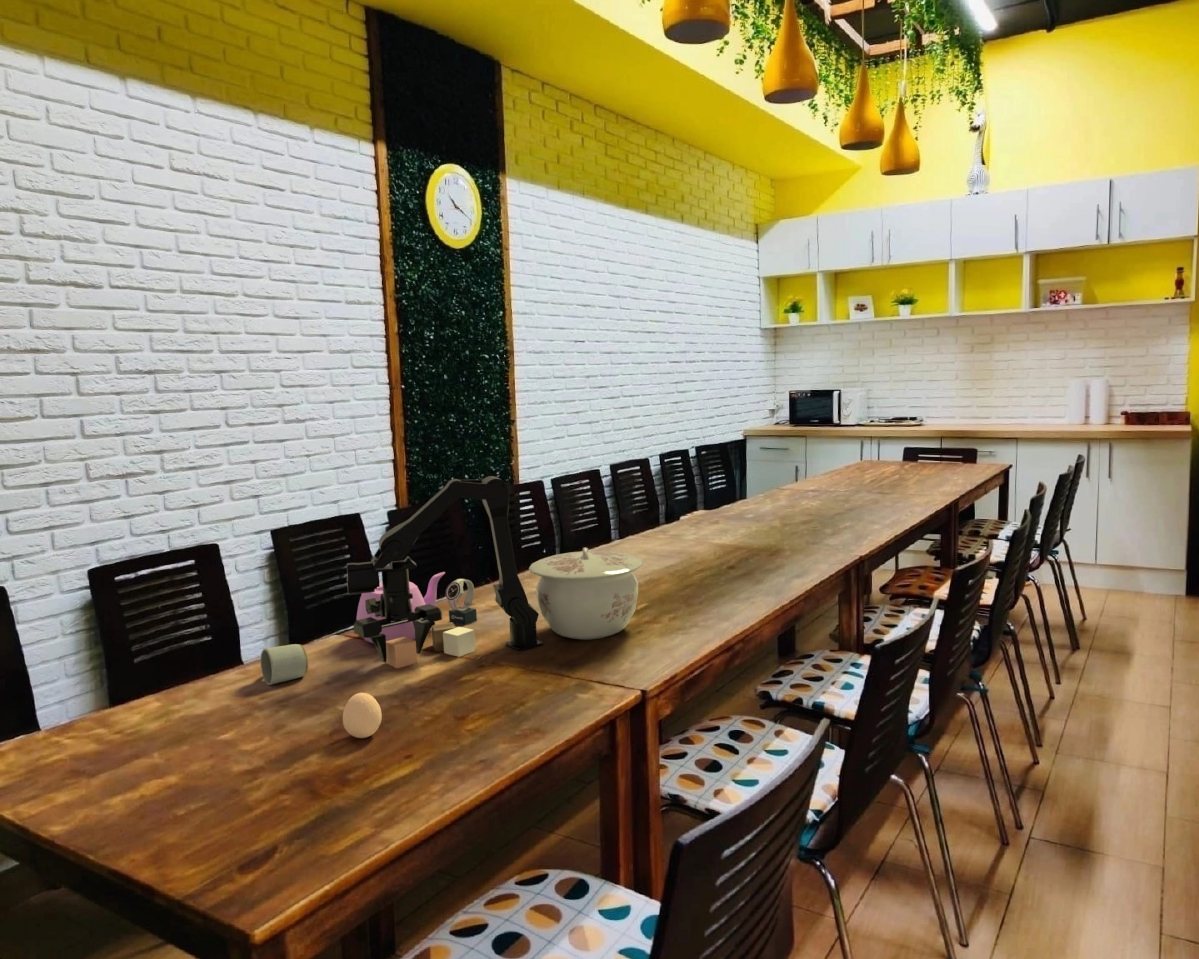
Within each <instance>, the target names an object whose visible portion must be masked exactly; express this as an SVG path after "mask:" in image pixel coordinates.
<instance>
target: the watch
mask: <svg viewBox="0 0 1199 959" xmlns="http://www.w3.org/2000/svg"><path fill="white" fill-rule="evenodd" d="M464 583H465V584H466V587H467V591H466V594H465V592H464V588H463V587H464ZM475 591H476V590H475V587H474V583H473V582H472V580H469V579H465V578H457V579H455V580H454V581H452V582H451V583H449V584H448V585H447V587H446V589H445V597H446V601H447V603H448V605H449V607H450V608H451V609H450V610H449V609H448V617H449V618H448V619H449V621H448V623H450V622H453V624H455V625H461V626H462V625H463V626H467V625H469V624H472V623H475V622H478V618H477V617H478V616H477V608H473V607H471V606H472V605H473V602H474V598H475V593H476V592H475ZM464 594H465V598H464V602H463V605H462V606H458V603H459V600H460V599H461V598H462V596H463V595H464Z"/></svg>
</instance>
